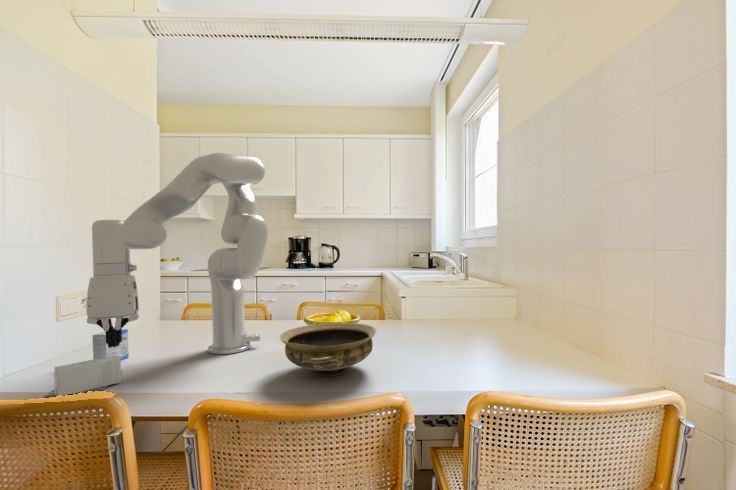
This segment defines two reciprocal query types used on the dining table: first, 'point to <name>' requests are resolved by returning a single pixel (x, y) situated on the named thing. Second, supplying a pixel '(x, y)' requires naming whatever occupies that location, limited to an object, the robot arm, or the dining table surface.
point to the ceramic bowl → (328, 346)
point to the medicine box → (102, 348)
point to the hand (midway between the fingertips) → (114, 345)
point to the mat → (79, 392)
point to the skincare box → (87, 375)
